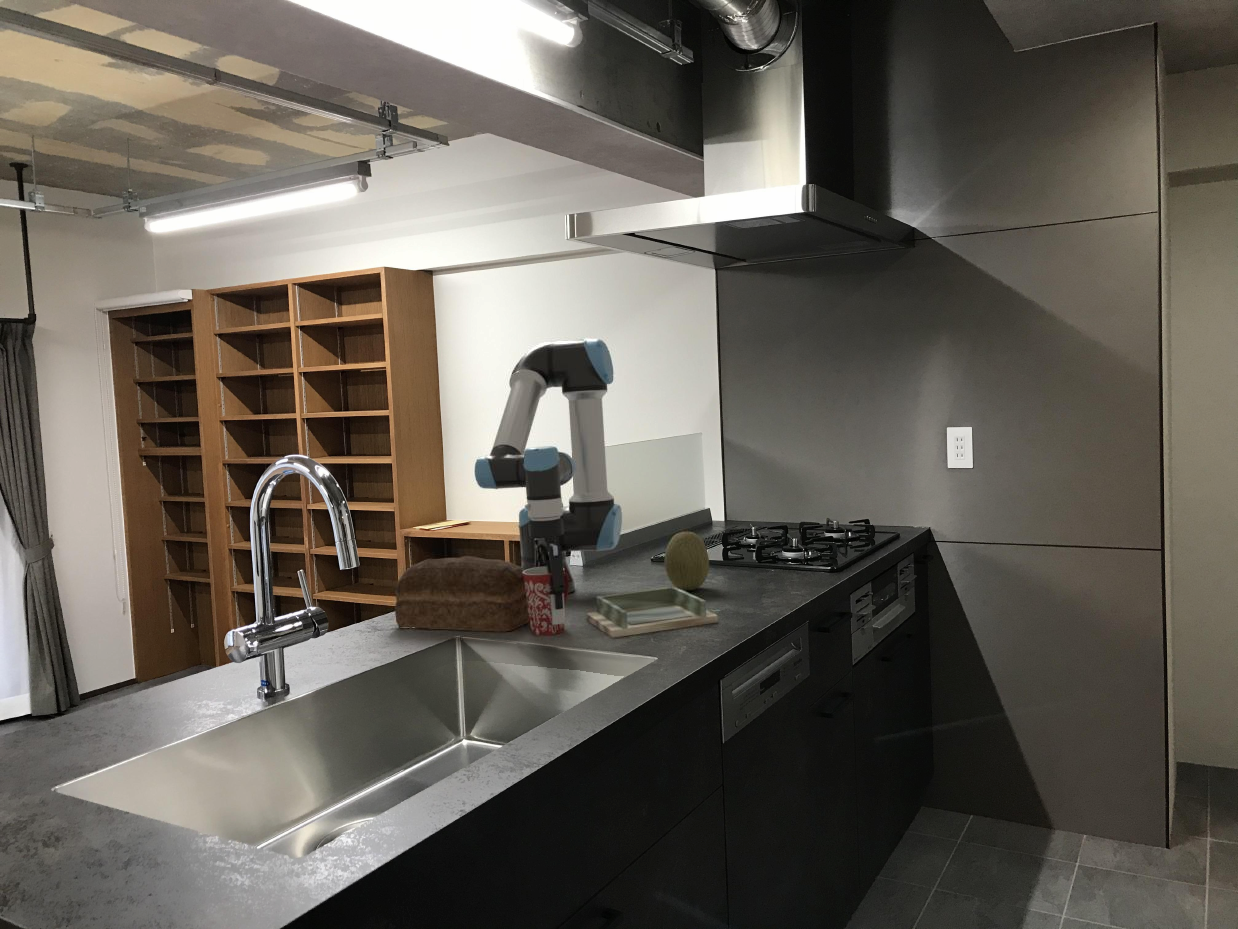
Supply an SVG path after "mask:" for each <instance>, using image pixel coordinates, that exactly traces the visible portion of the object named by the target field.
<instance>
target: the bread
mask: <svg viewBox="0 0 1238 929" xmlns="http://www.w3.org/2000/svg"><path fill="white" fill-rule="evenodd" d="M523 571H525V570H524V569H523V568H522V567H521V566H519V565H517V564H514V563H513V562H511V561H507V560H502V559H488V558H481V557H478V556H472V555H471V556H470V555H463V556H460V557H445V558H428V559H425V560H422V561H420V562H418V563H415V564H412V565H411V566H409V568H407V569H406V570H405V571H404V572H403V573H402V575H401V577H400V578H399V580H398V581H397V584H396V586H395V589H394V590H395V592H394V594H395V599H396V600H395V606H394V613H395V622H396V624H397V625H398V628H399V627H415V628H414V629H417V628H429V629H428V630H457V631H458V630H459V631H479V632H480V631H481V632H500V633H501V632H502V633H503V632H509V631H510V632H511V631H513V630H515V629H518V628H520V627H522V626H524V625H526V624H528V623H530V619H529V612H528V604H527V596H526V589H525V582H524V575H523Z"/></svg>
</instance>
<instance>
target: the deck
mask: <svg viewBox="0 0 1238 929" xmlns="http://www.w3.org/2000/svg"><path fill="white" fill-rule="evenodd" d="M595 598H596V601H595V602H596V612H588V613H586V621H588V622H589V623H590V624H592V625H594V626H595V627H596V628H598V629H599V630H600V631H602V632H603V633H605V634H607V635H608V636H609V637H611V638H619V637H625V636H626V637H627V636H631V635H632V636H633V635H639V634H647V633H653V632H661V631H666V630H673V629H681V628H687V627H693V626H694V627H695V626H701V625H706V624H707V625H709V624H715V623H718V622H719V620H718V614H715V613H713V612H711V611H709V610H707V601H706V599H705V600H704V599H702V598H700V597H698V596H696V595H693V594H691V593H689V592H687V591H685V590H681V589H678V588H677V587H675V586H669V587H662V588H661V587H660V588H655V589H647V590H646V589H645V590H640V591H632V592H630V591H629V592H623V593H615V594H608V595H601V596H596V597H595Z"/></svg>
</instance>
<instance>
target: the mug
mask: <svg viewBox="0 0 1238 929" xmlns="http://www.w3.org/2000/svg"><path fill="white" fill-rule="evenodd" d="M563 570H565V569H564V568H563ZM523 575H524V582H525V589H526V596H527V604H528V612H529V619H530V621H529V625H530V632H531V634H533V635H536V636H550V635H551V636H552V635H553V636H554V635H558V634H559V633H563V632H564V630H565V623H563V624H556V625H553V624H552V610H551V595H549V591H551V586H550V576H552V574H551V573H549V574H548V572H547V567H546V566H543V567H535V568H530V569H527V570H525V571H523ZM564 577H565V583H566V588H567V590H566V592H564V606H565V607H566V603H567V599H568V595H569V593H568V590H569V579H568V575H567V574H566V573H564ZM557 587H559V586H557Z"/></svg>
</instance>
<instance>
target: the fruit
mask: <svg viewBox="0 0 1238 929" xmlns="http://www.w3.org/2000/svg"><path fill="white" fill-rule="evenodd" d="M664 568H665V571H666V576H667V577H668V580H669V581H670V583H671V584H672V585H673V587H676V588H678V589H681V590H683V591H685V592H687V591H688V592H689V591H695V590H697V589H698V588H700V587H702V585H704V583H705V582H706V579H707V577H708V574H709V569H710V557H709V552H708V549H707V547H706V544H705V542H704V541H703V539H702V538H701V537H700V535H698V534H697V533H695V532H692V531H685V530H684V531H680V532H678V533H675V534H674V535H673V536H672V537H671V539H670V540H669V542H668V543H667V546H666V550H665V553H664Z"/></svg>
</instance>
